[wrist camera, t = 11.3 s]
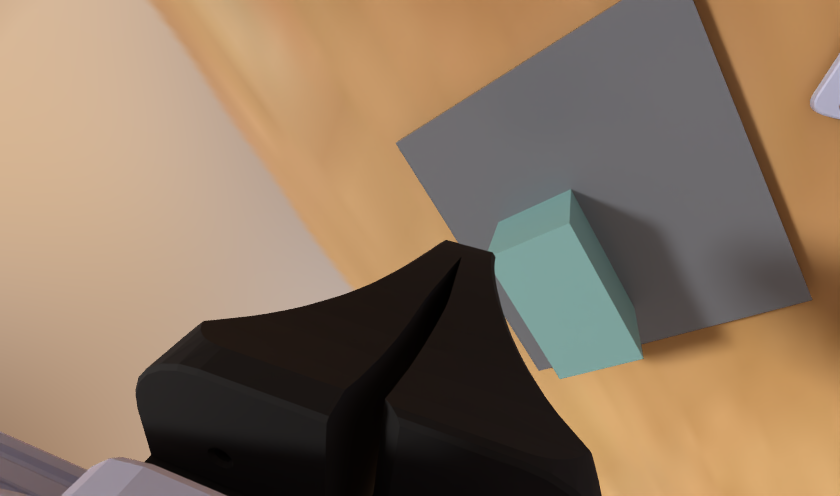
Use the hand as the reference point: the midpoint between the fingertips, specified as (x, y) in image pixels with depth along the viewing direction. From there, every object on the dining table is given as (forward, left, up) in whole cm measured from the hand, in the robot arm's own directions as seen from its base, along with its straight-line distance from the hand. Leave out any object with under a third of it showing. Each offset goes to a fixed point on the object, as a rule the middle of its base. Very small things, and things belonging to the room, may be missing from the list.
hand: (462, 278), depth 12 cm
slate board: (-4, +1, -10) cm, 11 cm away
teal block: (-1, +1, -8) cm, 8 cm away
